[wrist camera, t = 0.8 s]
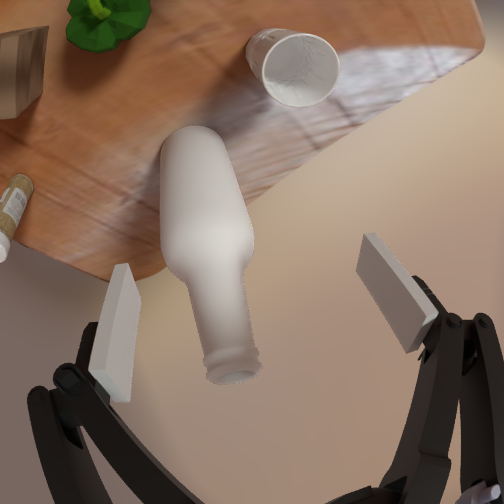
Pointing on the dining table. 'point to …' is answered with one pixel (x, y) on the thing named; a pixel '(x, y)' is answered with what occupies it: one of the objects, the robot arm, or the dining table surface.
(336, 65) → the white cup
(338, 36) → the dining table surface
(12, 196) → the sprinkles bottle
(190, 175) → the alcohol
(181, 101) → the dining table surface
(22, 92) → the button box
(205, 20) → the dining table surface
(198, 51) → the dining table surface
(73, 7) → the bell pepper
